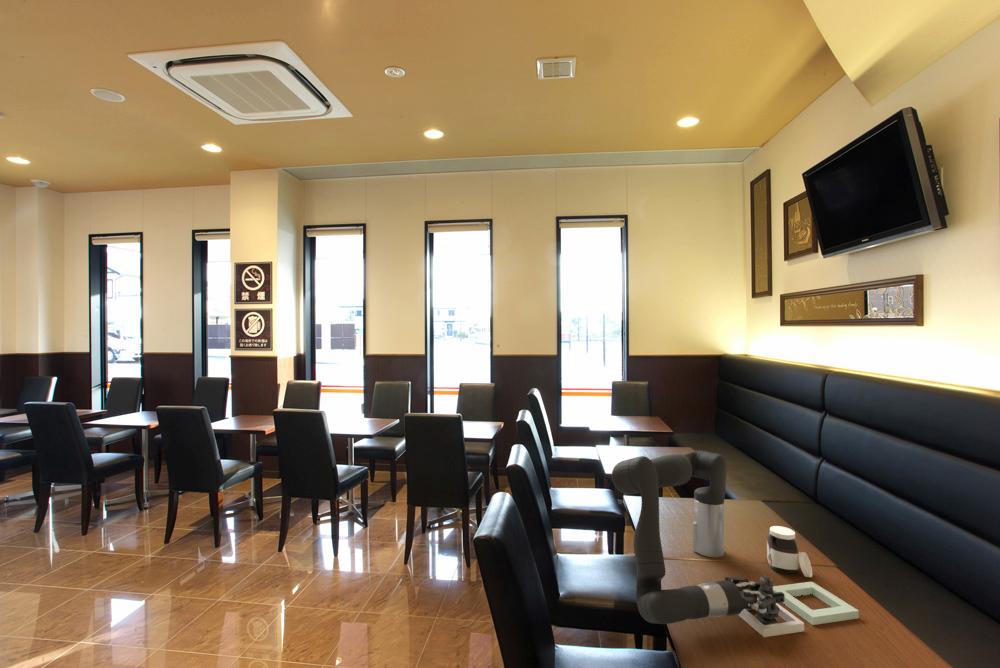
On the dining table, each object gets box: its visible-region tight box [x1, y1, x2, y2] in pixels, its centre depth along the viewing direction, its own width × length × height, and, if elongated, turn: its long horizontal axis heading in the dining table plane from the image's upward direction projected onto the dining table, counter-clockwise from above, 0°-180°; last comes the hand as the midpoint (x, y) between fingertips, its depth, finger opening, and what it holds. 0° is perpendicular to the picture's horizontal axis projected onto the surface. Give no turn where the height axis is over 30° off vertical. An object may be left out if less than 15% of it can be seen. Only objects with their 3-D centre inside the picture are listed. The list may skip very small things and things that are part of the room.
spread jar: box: [766, 525, 813, 578], centre depth 142 cm, size 12×11×12 cm
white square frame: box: [737, 597, 805, 638], centre depth 118 cm, size 11×11×2 cm
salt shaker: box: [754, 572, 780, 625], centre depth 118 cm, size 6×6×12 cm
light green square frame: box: [773, 581, 860, 626], centre depth 124 cm, size 14×14×2 cm
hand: (775, 591), depth 118 cm, fingers open, 4 cm apart
